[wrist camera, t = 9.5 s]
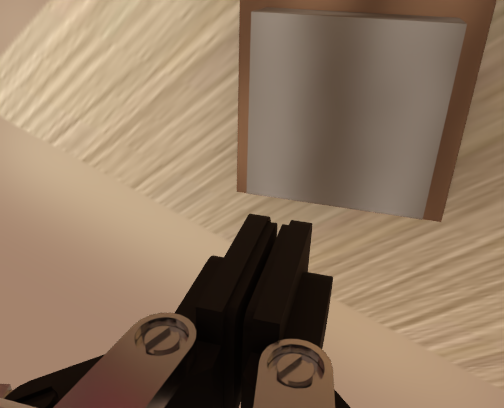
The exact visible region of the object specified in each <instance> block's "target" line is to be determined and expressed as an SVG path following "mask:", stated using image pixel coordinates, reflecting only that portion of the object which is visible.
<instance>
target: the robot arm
mask: <svg viewBox="0 0 504 408" xmlns="http://www.w3.org/2000/svg"><path fill="white" fill-rule="evenodd" d="M311 234H312V223H307V222H300V221H294V220H291V222H290V224H289V225H284V224H282V226H281V229H280V231H279V234H278V236H277V223H271V220H270V217H267V216H261V215H254V214H249V215H248V217H247V218H246V220H245V222H244V224H243V225H242V227H241V229H240V231H239V232H238V234H237V236H236V237H235V239H234V241H233V243H232V244H231V246H230V248H229V250H228V251H227V253H226V255H225V257H218V256H211V257H210V258H209V259H208V261H207V262H206V264H205V265H204V267H203V269H202V270H201V272H200V274H199V275H198V277H197V278H196V280H195V281H194V283H193V285H192V286H191V288H190V289H189V291H188V293H187V294H186V296H185V297H184V299H183V301H182V302H181V304H180V305H179V307H178V309H177V310H176V312H175V313H158V314H153V315H149V316H147V317H145V318H143V319H141V320H139V321H138V322H137V323H136V324H134V325H133V326H132V327H131V328H130V329H129V330H128V331H127V332H126V333H125V334H124V335H123V336H122V337H121V338H120V339H119V341H117V343H116V344H115V345H114V346H113V347H112V348H111V349H110V350H109V351H108V352H107V353H106V354H104V355H102V356H99V357H96V358H93V359H90V360H88V361H85V362H82V363H79V364H76V365H73V366H70V367H68V368H65V369H62V370H59V371H56V372H54V373H51V374H48V375H45V376H42V377H39V378H37V379H34V380H31V381H29V382H27V383H25V384H23V385H20V386H19V387H17V388H16V389H14V390H12V389H11V386H10V384H0V408H239V405H240V402H241V408H350V407H349V405H348V404H347V403H346V402H345V401H344V400H343V399H342V398H341V397H340V395H339V394H338V393H337V392H336V391H335V390H334V379H333V367H332V363H331V360H330V359H329V357H328V356H327V354H326V353H325V352H324V351H323V350H322V347H323V342H324V336H325V330H326V324H327V318H328V311H329V304H330V297H331V290H332V282H333V277H332V276H326V275H320V274H315V273H309V272H308V263H309V253H310V243H311Z"/></svg>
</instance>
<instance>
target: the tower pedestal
mask: <svg viewBox="0 0 504 408" xmlns="http://www.w3.org/2000/svg"><path fill="white" fill-rule="evenodd" d="M495 4H496V0H240V27H239V91H238V156H237V192H244V193H248V194H255V195H261V196H268V197H275V198H282V199H288V200H295V201H302V202H308V203H315V204H322V205H329V206H335V207H342V208H349V209H356V210H362V211H369V212H376V213H382V214H389V215H396V216H403V217H409V218H416V219H425V220H432V221H439V222H441V220H442V216H443V212H444V208H445V204H446V200H447V196H448V192H449V188H450V184H451V180H452V176H453V172H454V168H455V164H456V160H457V156H458V152H459V148H460V144H461V140H462V136H463V132H464V128H465V124H466V120H467V116H468V112H469V108H470V104H471V100H472V96H473V92H474V88H475V84H476V80H477V76H478V72H479V68H480V64H481V60H482V56H483V52H484V48H485V44H486V40H487V36H488V32H489V28H490V24H491V20H492V16H493V12H494V8H495Z"/></svg>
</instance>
